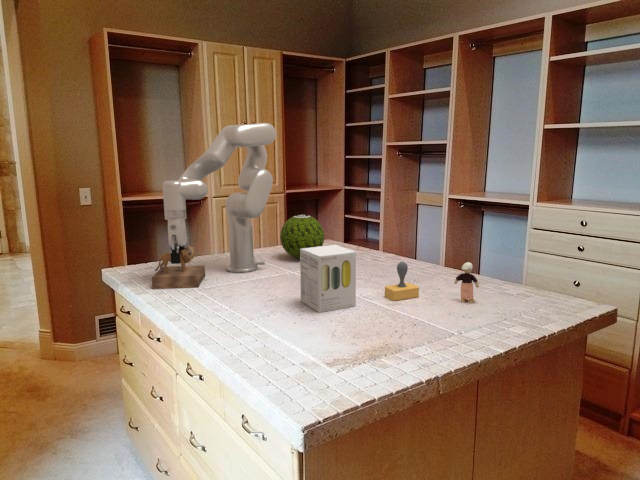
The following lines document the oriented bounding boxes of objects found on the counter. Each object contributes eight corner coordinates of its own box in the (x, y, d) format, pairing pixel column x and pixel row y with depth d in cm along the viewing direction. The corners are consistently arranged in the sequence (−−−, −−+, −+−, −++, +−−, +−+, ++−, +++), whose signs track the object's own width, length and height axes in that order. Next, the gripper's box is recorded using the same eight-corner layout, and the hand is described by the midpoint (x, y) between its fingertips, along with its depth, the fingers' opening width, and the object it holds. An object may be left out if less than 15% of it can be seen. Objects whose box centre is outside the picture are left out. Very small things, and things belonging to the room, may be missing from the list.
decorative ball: (324, 263, 202) (324, 217, 199) (278, 263, 203) (277, 217, 199) (324, 253, 222) (324, 211, 218) (282, 253, 222) (281, 212, 218)
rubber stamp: (408, 292, 159) (409, 258, 157) (419, 297, 154) (420, 261, 152) (384, 296, 155) (384, 261, 153) (393, 301, 150) (394, 265, 147)
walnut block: (205, 277, 183) (204, 265, 182) (198, 289, 167) (197, 275, 166) (163, 279, 182) (162, 266, 181) (152, 290, 166) (151, 277, 165)
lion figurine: (195, 267, 178) (194, 244, 177) (196, 271, 173) (194, 247, 172) (155, 270, 174) (153, 246, 173) (154, 274, 169) (152, 249, 168)
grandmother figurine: (478, 300, 150) (480, 261, 147) (478, 304, 146) (480, 264, 144) (453, 298, 152) (455, 260, 150) (452, 301, 149) (454, 262, 146)
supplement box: (318, 313, 139) (318, 256, 136) (300, 301, 151) (299, 248, 148) (356, 306, 145) (356, 251, 142) (335, 295, 157) (335, 244, 154)
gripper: (181, 217, 162) (184, 265, 165) (190, 211, 179) (192, 255, 182) (159, 218, 161) (162, 266, 164) (170, 212, 178) (173, 255, 181)
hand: (178, 260), depth 173 cm, fingers open, 9 cm apart
